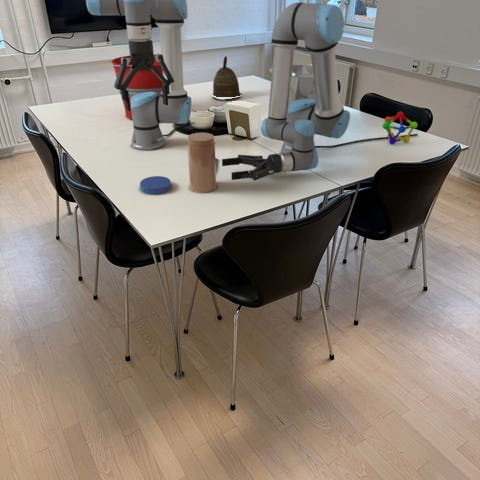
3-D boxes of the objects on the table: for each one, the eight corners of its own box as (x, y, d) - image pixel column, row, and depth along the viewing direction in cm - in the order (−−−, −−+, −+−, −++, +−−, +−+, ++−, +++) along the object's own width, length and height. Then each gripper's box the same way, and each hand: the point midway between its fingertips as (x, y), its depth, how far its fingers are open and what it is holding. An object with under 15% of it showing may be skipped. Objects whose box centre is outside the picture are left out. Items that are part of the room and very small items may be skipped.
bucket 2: (296, 138, 215) (301, 78, 201) (255, 124, 234) (256, 68, 219) (335, 125, 232) (342, 70, 217) (294, 113, 251) (297, 61, 236)
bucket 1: (125, 105, 263) (118, 51, 247) (184, 106, 262) (180, 52, 246) (109, 123, 234) (99, 63, 218) (175, 124, 233) (170, 64, 217)
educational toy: (377, 146, 209) (379, 114, 202) (384, 138, 219) (386, 107, 211) (411, 149, 202) (415, 116, 195) (417, 141, 212) (420, 109, 204)
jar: (186, 183, 171) (183, 133, 160) (211, 180, 174) (210, 130, 163) (194, 194, 163) (191, 142, 152) (219, 190, 166) (218, 139, 155)
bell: (227, 105, 294) (202, 96, 282) (238, 66, 289) (213, 55, 277) (243, 108, 280) (217, 98, 268) (255, 66, 275) (229, 55, 263)
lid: (177, 187, 168) (176, 182, 166) (153, 197, 160) (152, 191, 159) (158, 179, 174) (158, 173, 173) (134, 188, 167) (133, 182, 166)
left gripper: (105, 44, 132) (115, 115, 143) (181, 38, 143) (185, 104, 154) (97, 41, 137) (108, 109, 148) (171, 35, 148) (175, 99, 160)
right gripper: (290, 185, 165) (236, 192, 159) (267, 160, 185) (218, 166, 180) (292, 166, 161) (236, 172, 155) (268, 143, 181) (218, 148, 176)
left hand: (147, 107), depth 151 cm, fingers open, 13 cm apart
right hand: (226, 169), depth 167 cm, fingers open, 13 cm apart
